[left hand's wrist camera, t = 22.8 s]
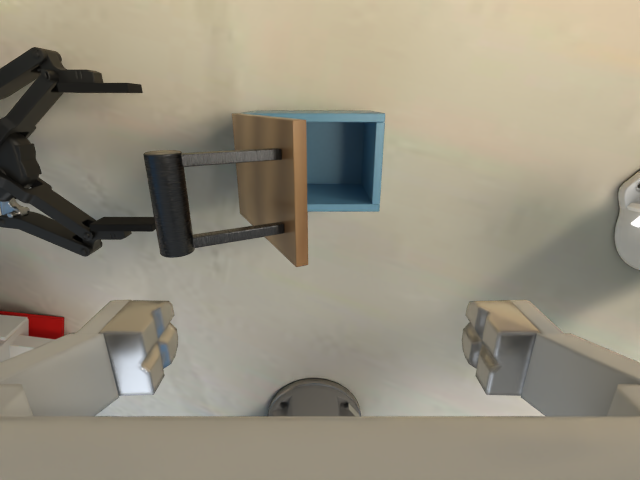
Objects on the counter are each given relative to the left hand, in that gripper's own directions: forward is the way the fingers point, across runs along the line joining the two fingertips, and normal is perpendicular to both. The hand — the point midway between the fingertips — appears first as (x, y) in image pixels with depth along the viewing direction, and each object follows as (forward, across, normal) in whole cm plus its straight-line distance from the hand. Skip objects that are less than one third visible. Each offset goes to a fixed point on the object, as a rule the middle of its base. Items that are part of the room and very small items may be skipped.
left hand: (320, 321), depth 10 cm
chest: (+38, -1, 0) cm, 38 cm away
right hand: (+29, -18, 0) cm, 34 cm away
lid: (+20, -4, 0) cm, 21 cm away
